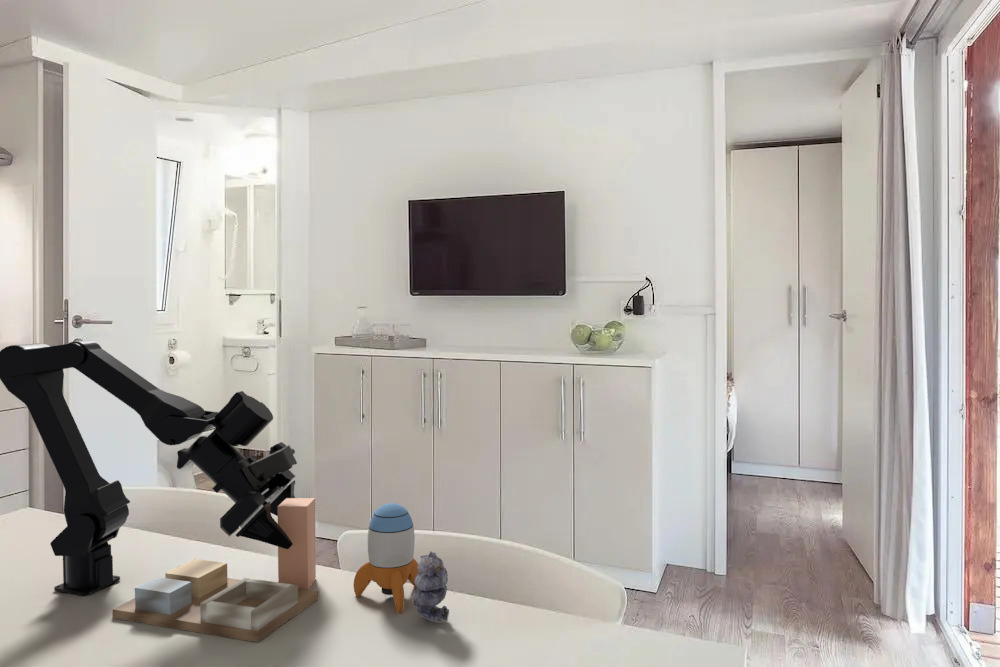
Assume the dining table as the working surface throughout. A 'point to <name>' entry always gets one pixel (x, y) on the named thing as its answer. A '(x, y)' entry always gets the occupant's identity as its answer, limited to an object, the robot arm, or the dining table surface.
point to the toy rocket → (389, 553)
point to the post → (297, 542)
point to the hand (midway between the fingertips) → (299, 536)
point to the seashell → (431, 589)
